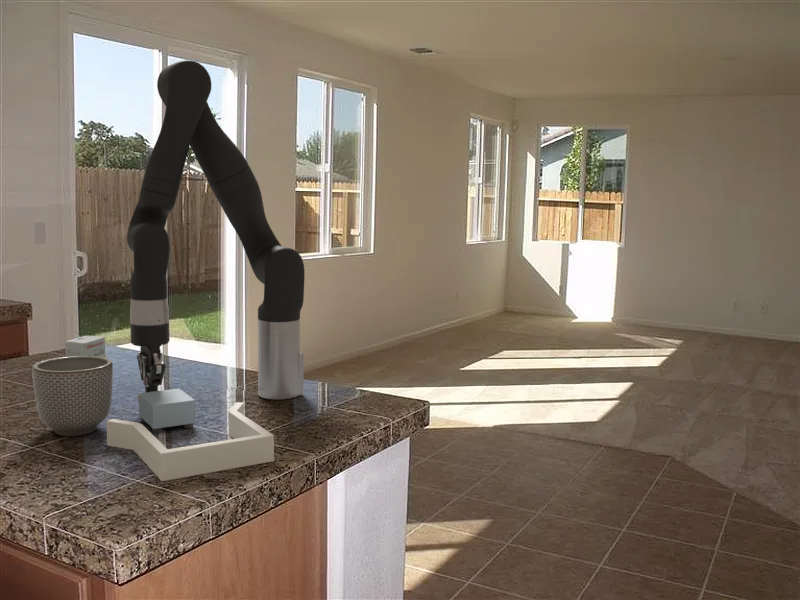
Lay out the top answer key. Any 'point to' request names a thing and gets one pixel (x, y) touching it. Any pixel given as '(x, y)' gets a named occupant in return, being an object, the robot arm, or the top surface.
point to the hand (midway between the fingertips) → (151, 403)
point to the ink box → (86, 346)
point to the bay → (196, 447)
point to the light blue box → (166, 409)
